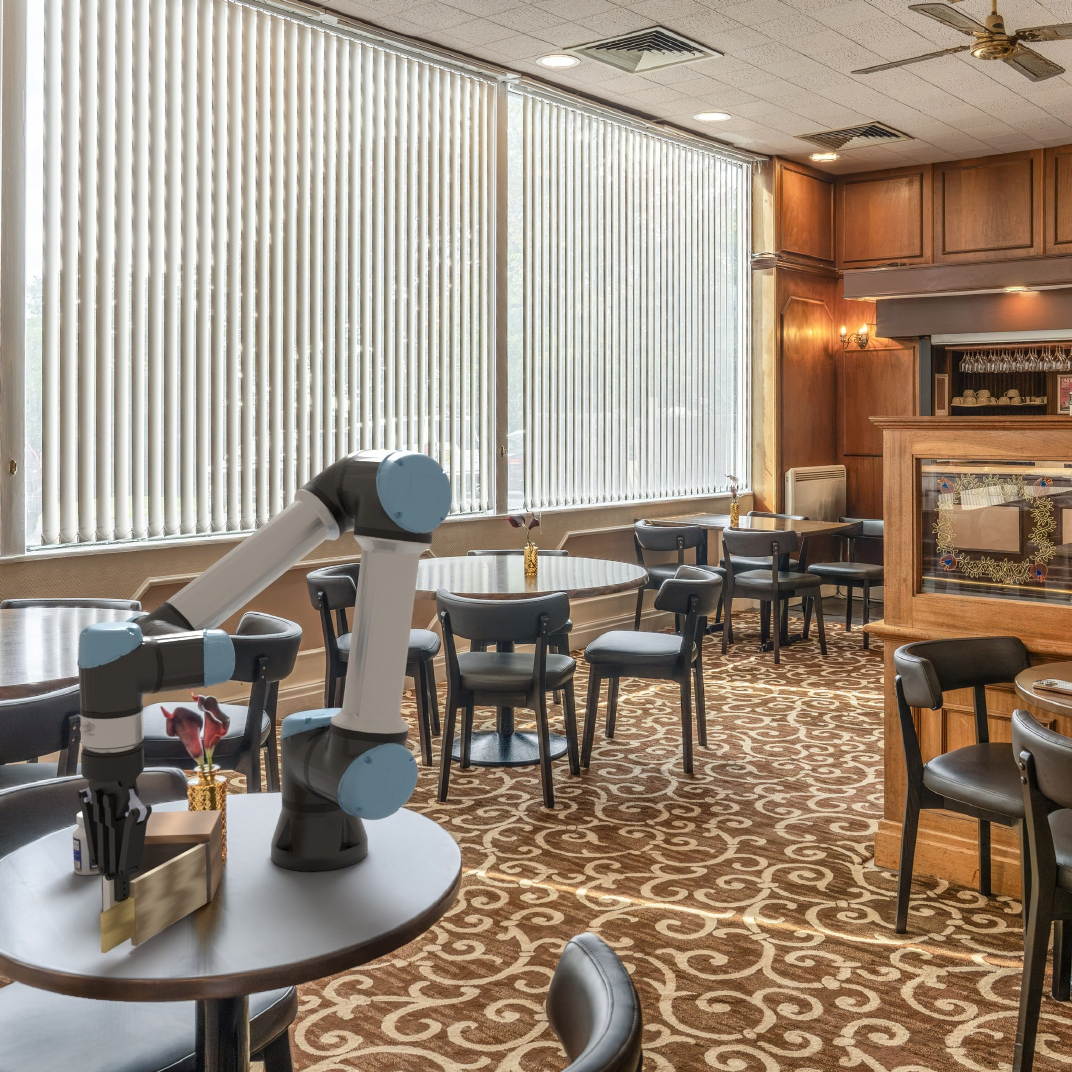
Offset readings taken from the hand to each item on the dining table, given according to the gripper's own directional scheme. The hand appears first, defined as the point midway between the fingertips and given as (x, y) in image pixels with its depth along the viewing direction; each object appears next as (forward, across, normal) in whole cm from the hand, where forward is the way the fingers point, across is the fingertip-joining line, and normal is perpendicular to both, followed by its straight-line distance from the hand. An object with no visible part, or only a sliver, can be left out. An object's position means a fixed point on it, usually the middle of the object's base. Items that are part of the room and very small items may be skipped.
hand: (116, 922), depth 145 cm
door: (+3, +1, +6) cm, 7 cm away
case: (+4, -11, +15) cm, 19 cm away
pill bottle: (+4, -26, +13) cm, 30 cm away
